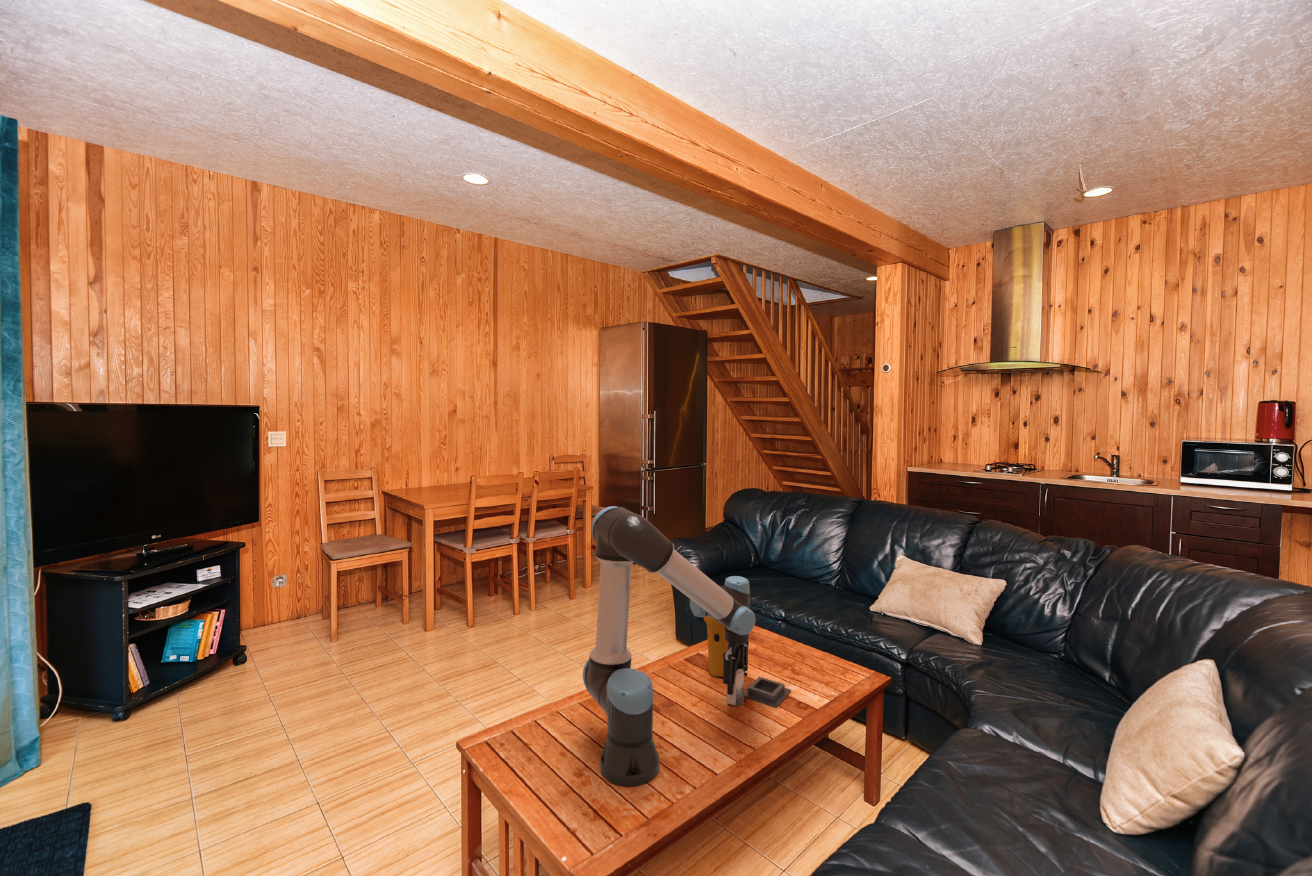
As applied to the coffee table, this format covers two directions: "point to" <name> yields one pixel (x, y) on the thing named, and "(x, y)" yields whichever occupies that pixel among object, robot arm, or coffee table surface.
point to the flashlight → (716, 646)
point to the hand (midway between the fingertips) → (735, 699)
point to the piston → (739, 686)
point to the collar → (767, 692)
